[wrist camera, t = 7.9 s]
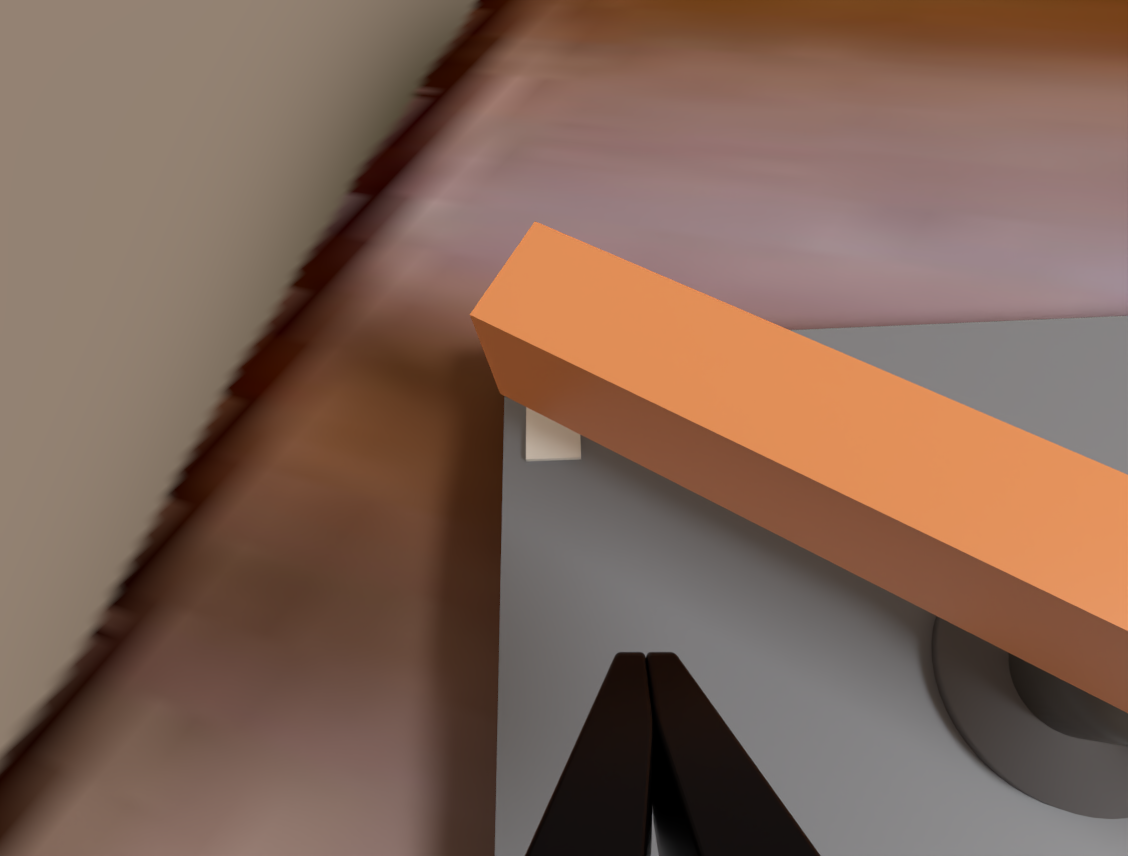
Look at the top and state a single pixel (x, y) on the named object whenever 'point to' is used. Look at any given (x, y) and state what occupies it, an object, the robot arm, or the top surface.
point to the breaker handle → (834, 462)
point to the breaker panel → (808, 624)
